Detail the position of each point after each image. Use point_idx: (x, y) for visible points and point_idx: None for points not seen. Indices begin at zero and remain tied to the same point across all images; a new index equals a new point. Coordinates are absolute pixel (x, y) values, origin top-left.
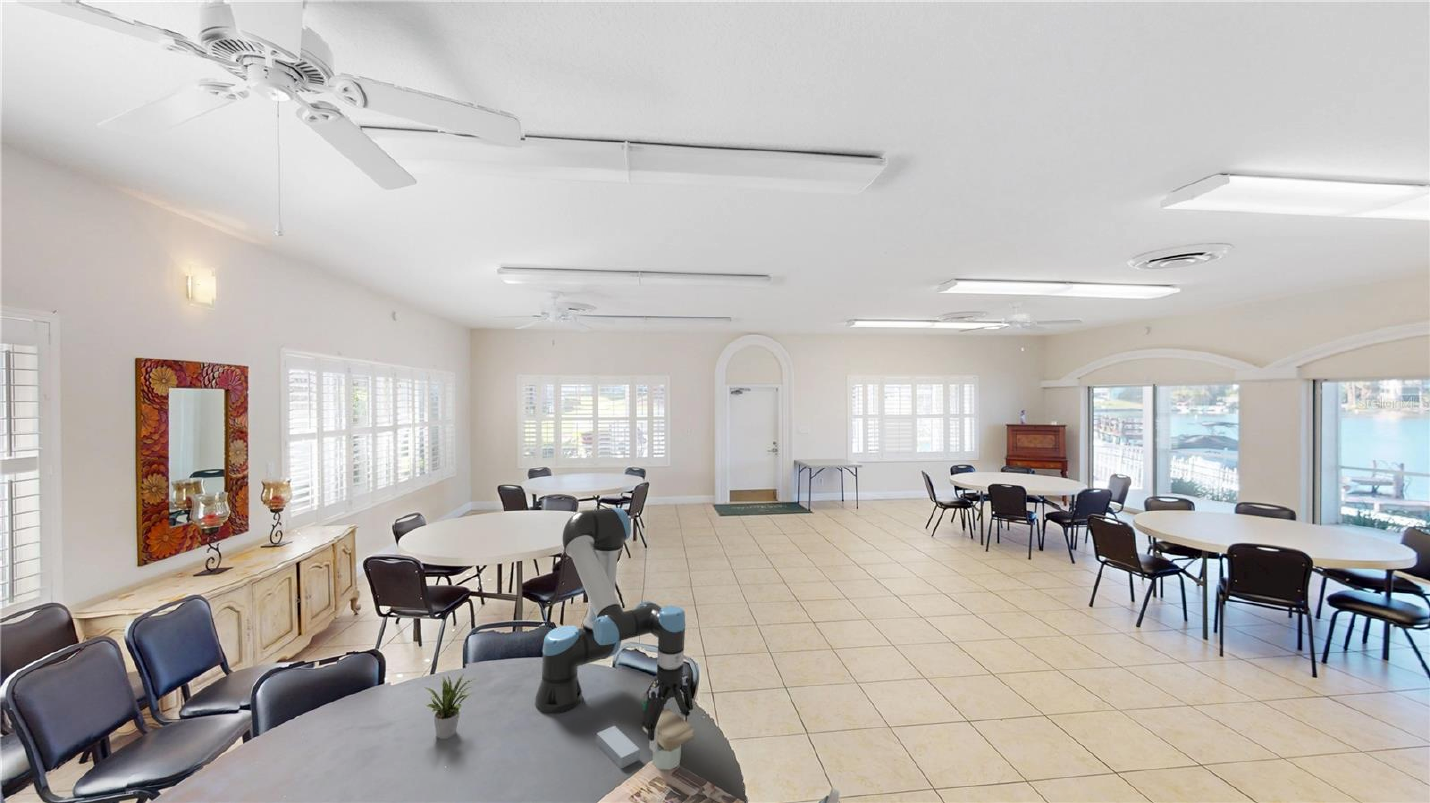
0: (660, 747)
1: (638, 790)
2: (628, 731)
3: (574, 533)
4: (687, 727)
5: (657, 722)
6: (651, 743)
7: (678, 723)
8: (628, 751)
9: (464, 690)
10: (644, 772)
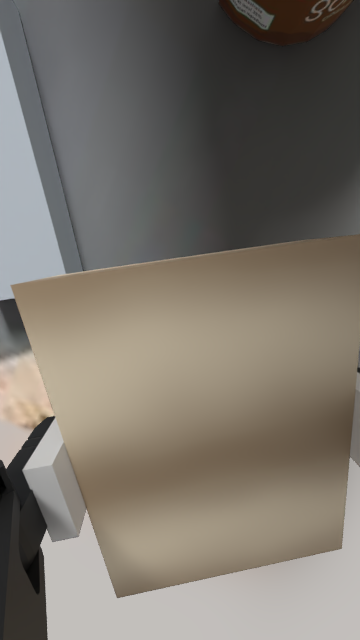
0: None
1: (31, 422)
2: (111, 28)
3: None
4: (308, 535)
5: (46, 619)
6: None
7: (286, 480)
8: (8, 277)
9: None
10: None
